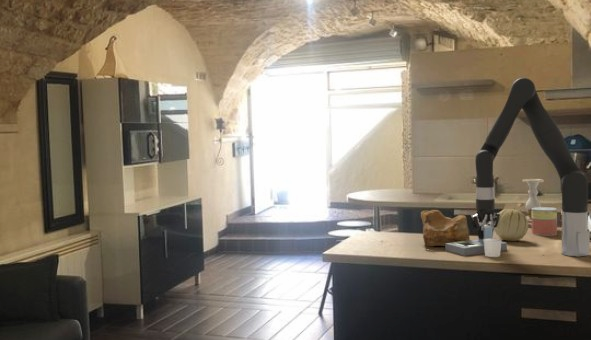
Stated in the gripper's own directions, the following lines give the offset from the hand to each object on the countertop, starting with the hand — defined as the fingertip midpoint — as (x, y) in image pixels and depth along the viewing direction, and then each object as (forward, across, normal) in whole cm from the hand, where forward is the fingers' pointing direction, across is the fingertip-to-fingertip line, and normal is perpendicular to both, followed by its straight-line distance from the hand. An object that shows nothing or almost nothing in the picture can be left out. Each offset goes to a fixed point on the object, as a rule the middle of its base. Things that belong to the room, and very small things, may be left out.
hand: (485, 238), depth 251 cm
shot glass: (+5, -6, -11) cm, 14 cm away
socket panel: (+5, -5, 0) cm, 7 cm away
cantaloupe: (+5, +23, +10) cm, 26 cm away
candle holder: (+5, +61, +35) cm, 70 cm away
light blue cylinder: (+4, 0, 0) cm, 4 cm away
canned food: (+5, +49, +16) cm, 52 cm away
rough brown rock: (+5, -11, +17) cm, 21 cm away
